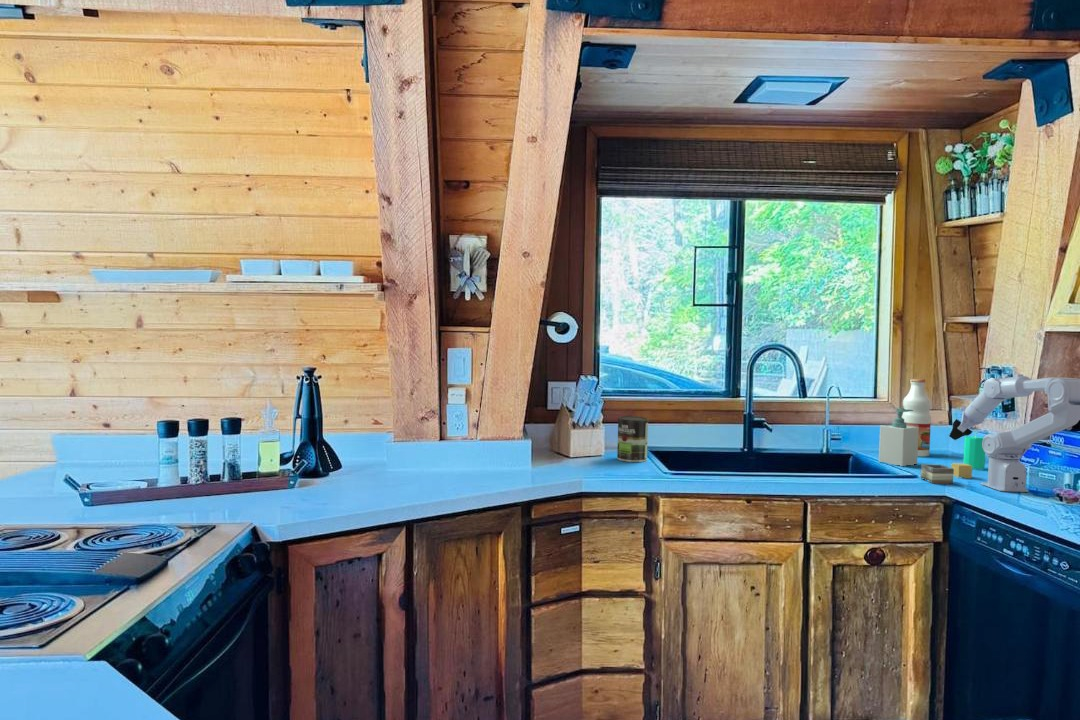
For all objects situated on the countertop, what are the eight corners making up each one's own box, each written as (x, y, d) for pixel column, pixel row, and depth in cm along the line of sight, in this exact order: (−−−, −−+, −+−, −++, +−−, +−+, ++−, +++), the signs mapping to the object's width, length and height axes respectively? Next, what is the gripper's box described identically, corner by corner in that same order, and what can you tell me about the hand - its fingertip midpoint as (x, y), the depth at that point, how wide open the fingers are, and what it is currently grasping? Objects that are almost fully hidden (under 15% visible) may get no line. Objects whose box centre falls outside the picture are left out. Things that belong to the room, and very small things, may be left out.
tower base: (953, 483, 203) (953, 468, 203) (931, 483, 203) (932, 468, 203) (941, 479, 209) (941, 464, 209) (920, 478, 209) (921, 464, 209)
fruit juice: (901, 451, 259) (904, 377, 258) (929, 454, 254) (932, 379, 253) (899, 455, 251) (902, 379, 250) (929, 458, 246) (932, 380, 245)
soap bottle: (902, 467, 228) (905, 410, 227) (878, 462, 236) (880, 407, 235) (917, 464, 233) (920, 409, 232) (893, 460, 240) (895, 406, 239)
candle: (988, 470, 226) (990, 434, 225) (970, 469, 226) (971, 433, 225) (977, 466, 232) (978, 431, 231) (959, 466, 232) (960, 430, 231)
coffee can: (636, 463, 225) (637, 421, 225) (610, 459, 232) (611, 418, 231) (653, 459, 233) (654, 418, 232) (627, 455, 240) (628, 415, 239)
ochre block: (971, 478, 212) (972, 465, 212) (958, 478, 212) (959, 465, 212) (963, 475, 216) (964, 463, 216) (950, 475, 216) (951, 463, 216)
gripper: (980, 386, 212) (956, 411, 223) (958, 410, 206) (935, 435, 216) (1002, 400, 209) (977, 425, 220) (981, 425, 203) (956, 449, 213)
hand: (958, 431), depth 218 cm, fingers open, 7 cm apart
